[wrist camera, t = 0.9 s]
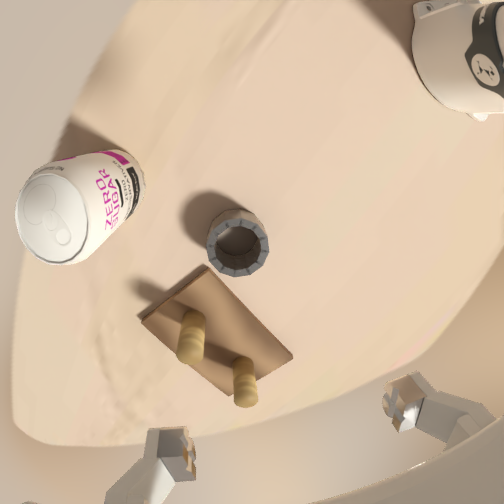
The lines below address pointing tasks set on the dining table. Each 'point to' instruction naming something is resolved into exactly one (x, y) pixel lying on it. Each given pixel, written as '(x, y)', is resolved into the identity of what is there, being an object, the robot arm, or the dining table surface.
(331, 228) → the dining table surface
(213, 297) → the post board
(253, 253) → the ring
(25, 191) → the supplement can
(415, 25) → the robot arm
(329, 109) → the dining table surface
